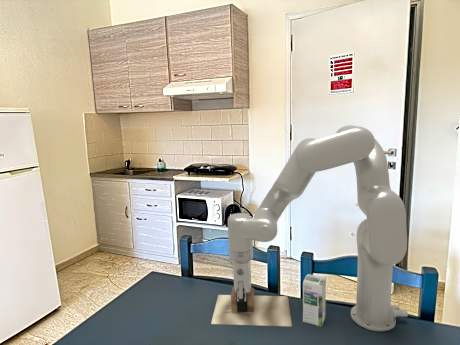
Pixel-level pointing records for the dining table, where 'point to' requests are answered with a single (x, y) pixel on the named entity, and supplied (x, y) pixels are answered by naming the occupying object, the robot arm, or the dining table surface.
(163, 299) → the dining table surface
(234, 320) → the board
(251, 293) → the block
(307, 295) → the syrup box
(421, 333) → the dining table surface
